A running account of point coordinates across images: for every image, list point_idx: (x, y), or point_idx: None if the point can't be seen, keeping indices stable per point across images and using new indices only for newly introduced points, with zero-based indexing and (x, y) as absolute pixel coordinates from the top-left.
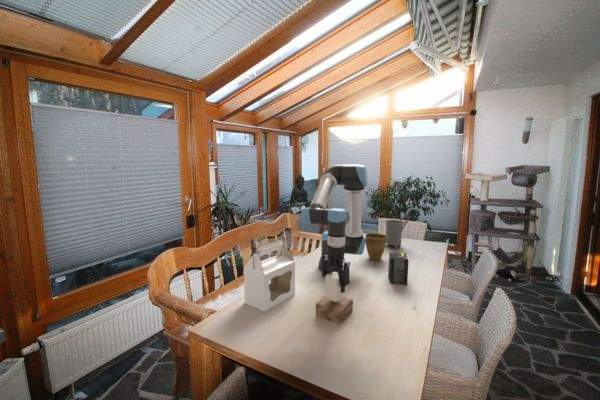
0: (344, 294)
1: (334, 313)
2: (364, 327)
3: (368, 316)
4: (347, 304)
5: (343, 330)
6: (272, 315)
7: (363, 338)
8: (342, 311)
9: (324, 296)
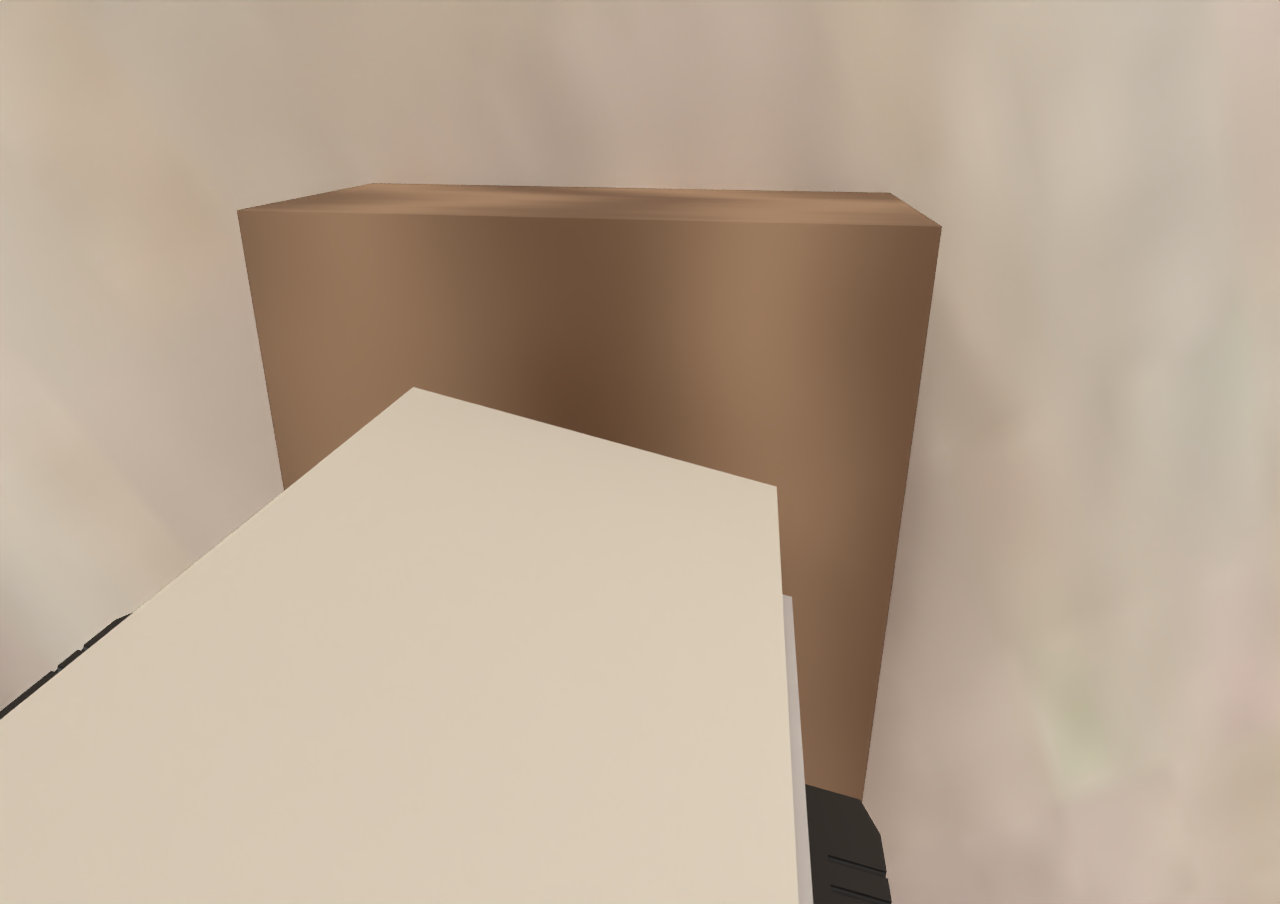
0: (777, 533)
1: None
2: (1211, 565)
3: (1246, 195)
4: (884, 522)
5: (918, 750)
6: None
7: (1231, 794)
8: (864, 751)
9: (280, 443)
